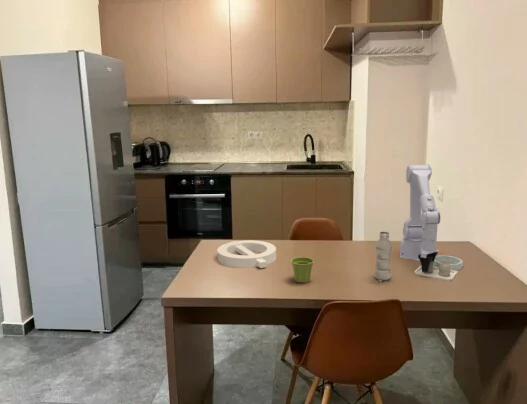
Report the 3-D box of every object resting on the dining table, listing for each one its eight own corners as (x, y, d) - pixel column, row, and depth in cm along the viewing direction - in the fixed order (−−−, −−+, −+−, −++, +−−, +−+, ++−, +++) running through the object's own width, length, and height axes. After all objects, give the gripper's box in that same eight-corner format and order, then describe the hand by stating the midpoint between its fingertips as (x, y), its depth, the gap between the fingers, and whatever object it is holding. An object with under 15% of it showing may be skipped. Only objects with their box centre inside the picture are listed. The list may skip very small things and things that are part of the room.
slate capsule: (420, 272, 187) (421, 261, 186) (423, 269, 191) (424, 259, 190) (431, 274, 185) (431, 263, 184) (433, 271, 188) (434, 261, 187)
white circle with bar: (265, 271, 194) (265, 260, 193) (208, 265, 203) (207, 255, 202) (282, 251, 220) (282, 242, 219) (231, 247, 229) (230, 238, 228)
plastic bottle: (391, 277, 184) (393, 231, 180) (390, 283, 177) (392, 235, 173) (375, 275, 186) (376, 230, 182) (373, 281, 179) (375, 234, 175)
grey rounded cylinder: (437, 275, 183) (438, 265, 182) (440, 272, 187) (441, 262, 186) (448, 277, 181) (449, 267, 180) (451, 274, 184) (452, 264, 183)
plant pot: (286, 279, 183) (286, 259, 181) (303, 274, 189) (303, 255, 187) (301, 286, 176) (301, 266, 174) (318, 281, 181) (318, 260, 179)
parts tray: (413, 275, 186) (413, 271, 186) (421, 267, 194) (421, 264, 194) (451, 282, 177) (451, 279, 177) (457, 274, 186) (457, 271, 186)
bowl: (429, 268, 194) (429, 261, 193) (436, 260, 203) (437, 253, 202) (458, 273, 187) (458, 266, 186) (464, 265, 196) (465, 258, 195)
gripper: (434, 244, 177) (432, 276, 179) (443, 235, 188) (441, 266, 191) (416, 241, 181) (414, 272, 184) (426, 233, 192) (425, 263, 195)
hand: (427, 269), depth 187 cm, fingers open, 6 cm apart
